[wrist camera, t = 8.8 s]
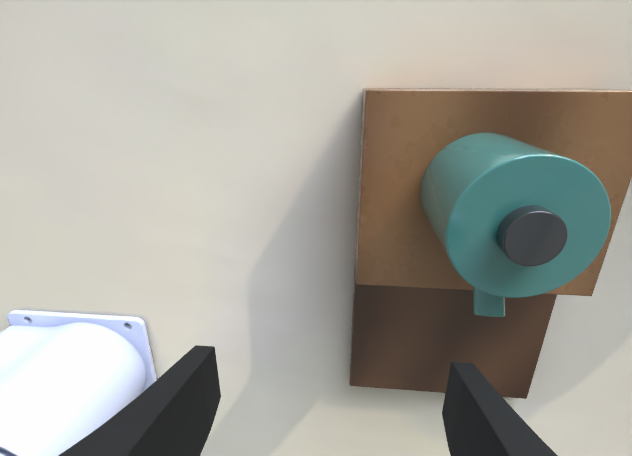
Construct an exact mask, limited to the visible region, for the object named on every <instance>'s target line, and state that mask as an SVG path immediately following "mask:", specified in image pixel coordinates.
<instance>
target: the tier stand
mask: <svg viewBox="0 0 632 456" xmlns="http://www.w3.org/2000/svg"><path fill="white" fill-rule="evenodd" d="M477 133H497V134H501V135H505V136H508V137H511V138H513V139H516V140H519V141H522V142H525V143H527V144H530V145H533V146H536V147H539V148H542V149H544V150H547V151H550V152H553V153H556V154H558V155H561V156H564V157H567V158H570V159H572V160H575V161H577V162H579V163H581V164H582V165H584V166H586V167H587V168H588V169H589V170H591V171H592V172H593V173H594V174H595V175H596V176H597V177H598V178H599V180H600V181H601V183H602V184H603V186H604V187H605V190H606V192H607V195H608V197H609V201H610V206H611V222H610V228H609V232H608V236H607V238H606V241H605V243H604V245H603V247H602V249H601V250H600V252H599V254H598V255H597V256H596V258H595V259H594V261H593V262H592V263H591V264H590V265H589V266H588V267H587V268H586V269H585V270H584V271H583V272H582V273H581V274H579V275H578V276H577V277H576V278H574V279H573V280H571V281H570V282H568V283H566V284H565V285H563V286H561V287H559V288H557V289H554V290H552V291H550V292H547V293H543V294H540V295H536V296H531V297H523V298H508V297H505V316H504V317H491V316H480V315H475V314H474V313H473V286H472V285H470V284H469V283H467V282H466V281H465V280H464V279H463V278H462V277H461V276H460V275H459V274H458V273H457V272H456V270H455V269H454V267H453V265H452V264H451V262H450V260H449V258H448V256H447V255H446V253H445V251H444V249H443V247H442V245H441V244H440V242H439V240H438V238H437V236H436V234H435V233H434V231H433V229H432V227H431V225H430V223H429V222H428V220H427V218H426V216H425V214H424V212H423V209H422V205H421V199H420V188H421V183H422V179H423V176H424V173H425V171H426V169H427V167H428V166H429V164H430V162H431V161H432V160H433V158H434V157H435V156H436V155H437V154H438V153H439V152H440V151H441V150H442V149H443V148H445V147H446V146H447V145H449V144H450V143H452V142H454V141H455V140H457V139H460V138H462V137H465V136H468V135H471V134H477ZM631 177H632V90H610V89H410V88H364V89H363V110H362V131H361V151H360V172H359V193H358V214H357V234H356V255H355V257H356V258H355V276H354V297H353V317H352V338H351V359H350V386H361V387H374V388H388V389H402V390H415V391H429V392H443V393H446V388H447V383H448V377H449V372H450V366H451V362H466V363H473V364H474V365H475V366H476V367H477V368H478V370H479V371H480V372H481V373H482V374H483V375H484V377H485V378H486V379H487V380H488V381H489V382H490V384H491V385H492V386H493V387H494V388H495V389H496V390H497V392H498V393H499V394H500V395H501V396H502V397H511V398H525V399H526V398H527V395H528V392H529V388H530V385H531V381H532V378H533V375H534V371H535V368H536V364H537V361H538V357H539V354H540V351H541V347H542V344H543V340H544V337H545V334H546V330H547V327H548V323H549V320H550V316H551V313H552V310H553V306H554V303H555V299H556V296H557V294H561V295H582V296H592V293H593V291H594V288H595V285H596V282H597V279H598V276H599V273H600V270H601V267H602V264H603V261H604V258H605V255H606V252H607V249H608V246H609V243H610V240H611V237H612V234H613V231H614V228H615V225H616V222H617V219H618V216H619V213H620V210H621V207H622V204H623V201H624V198H625V195H626V192H627V189H628V186H629V183H630V180H631Z"/></svg>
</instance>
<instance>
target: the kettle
mask: <svg viewBox="0 0 632 456" xmlns="http://www.w3.org/2000/svg"><path fill="white" fill-rule="evenodd" d="M420 199H421V205H422V209H423V212H424V214H425V216H426V218H427V220H428V222H429V223H430V225H431V227H432V229H433V231H434V233H435V234H436V236H437V238H438V240H439V242H440V244H441V245H442V247H443V249H444V251H445V253H446V255H447V256H448V258H449V260H450V262H451V264H452V265H453V267H454V269H455V270H456V272H457V273H458V274H459V275H460V276H461V277H462V278H463V279H464V280H465V281H466V282H467V283H469V284H470V285H472V286H473V313H474V314H475V315H480V316H491V317H504V316H505V297H508V298H523V297H531V296H536V295H540V294H543V293H547V292H550V291H552V290H554V289H557V288H559V287H561V286H563V285H565V284H566V283H568V282H570V281H571V280H573V279H574V278H576V277H577V276H578V275H579V274H581V273H582V272H583V271H584V270H585V269H586V268H587V267H588V266H589V265H590V264H591V263H592V262H593V261H594V259H595V258H596V256H597V255H598V254H599V252H600V250H601V249H602V247H603V245H604V243H605V241H606V238H607V236H608V232H609V228H610V222H611V206H610V201H609V197H608V195H607V192H606V190H605V187H604V186H603V184H602V183H601V181H600V180H599V178H598V177H597V176H596V175H595V174H594V173H593V172H592V171H591V170H589V169H588V168H587V167H586V166H584V165H582V164H581V163H579V162H577V161H575V160H572V159H570V158H567V157H564V156H561V155H558V154H556V153H553V152H550V151H547V150H544V149H542V148H539V147H536V146H533V145H530V144H527V143H525V142H522V141H519V140H516V139H513V138H511V137H508V136H505V135H501V134H497V133H477V134H471V135H468V136H465V137H462V138H460V139H457V140H455V141H454V142H452V143H450V144H449V145H447V146H446V147H445V148H443V149H442V150H441V151H440V152H439V153H438V154H437V155H436V156H435V157H434V158H433V160H432V161H431V162H430V164H429V166H428V167H427V169H426V171H425V173H424V176H423V179H422V183H421V188H420Z"/></svg>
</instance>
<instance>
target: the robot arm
mask: <svg viewBox="0 0 632 456" xmlns="http://www.w3.org/2000/svg"><path fill="white" fill-rule="evenodd" d="M7 318H8V321H9V324H10V327H8V328H7V329H5V330H4V331H3V332H1V333H0V456H200V454H201V452H202V449H203V447H204V445H205V442H206V440H207V438H208V435H209V433H210V430H211V427H212V424H213V421H214V418H215V415H216V411H217V408H218V404H219V401H220V397H221V394H220V386H219V378H218V371H217V363H216V355H215V347H211V346H195V347H193V348H192V349H191V350H190V351H189V352H188V353H187V354H185V355H184V356H183V357H182V358H181V359H180V360H179V361H178V362H176V363H175V364H174V365H173V366H172V367H171V368H170V369H169V370H168V371H166V372H165V373H164V374H163V375H162V376H161V377H160V378H159V379H157V378H156V373H155V368H154V363H153V358H152V354H151V349H150V344H149V339H148V335H147V330H146V325H145V322H144V321H143V320H142V319H141V318H138V317H126V316H109V315H93V314H76V313H60V312H43V311H27V310H13V311H12V312H10V313H9V314H8V315H7ZM128 323H129V324H130V325H131V326H130V325H129V324H128ZM442 415H443V420H444V426H445V432H446V437H447V442H448V447H449V451H450V454H451V456H557V455H556V454H555V453H554V452H553V451H552V450H551V449H550V448H549V447H548V446H547V445H546V444H545V443H544V442H543V441H542V440H541V439H540V438H539V437H538V435H537V434H536V433H535V432H534V431H533V430H532V429H531V428H530V427H529V426H528V425H527V424H526V423H525V422H524V421H523V419H522V418H521V417H520V416H519V415H518V414H517V413H516V412H515V411H514V410H513V409H512V407H511V406H510V405H509V404H508V403H507V402H506V401H505V400H504V398H503V397H502V396H501V395H500V394H499V393H498V392H497V390H496V389H495V388H494V387H493V386H492V385H491V384H490V382H489V381H488V380H487V379H486V378H485V377H484V375H483V374H482V373H481V372H480V371H479V370H478V368H477V367H476V366H475V365H474V364H473V363H466V362H451V366H450V372H449V377H448V383H447V388H446V394H445V400H444V405H443V411H442Z"/></svg>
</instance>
